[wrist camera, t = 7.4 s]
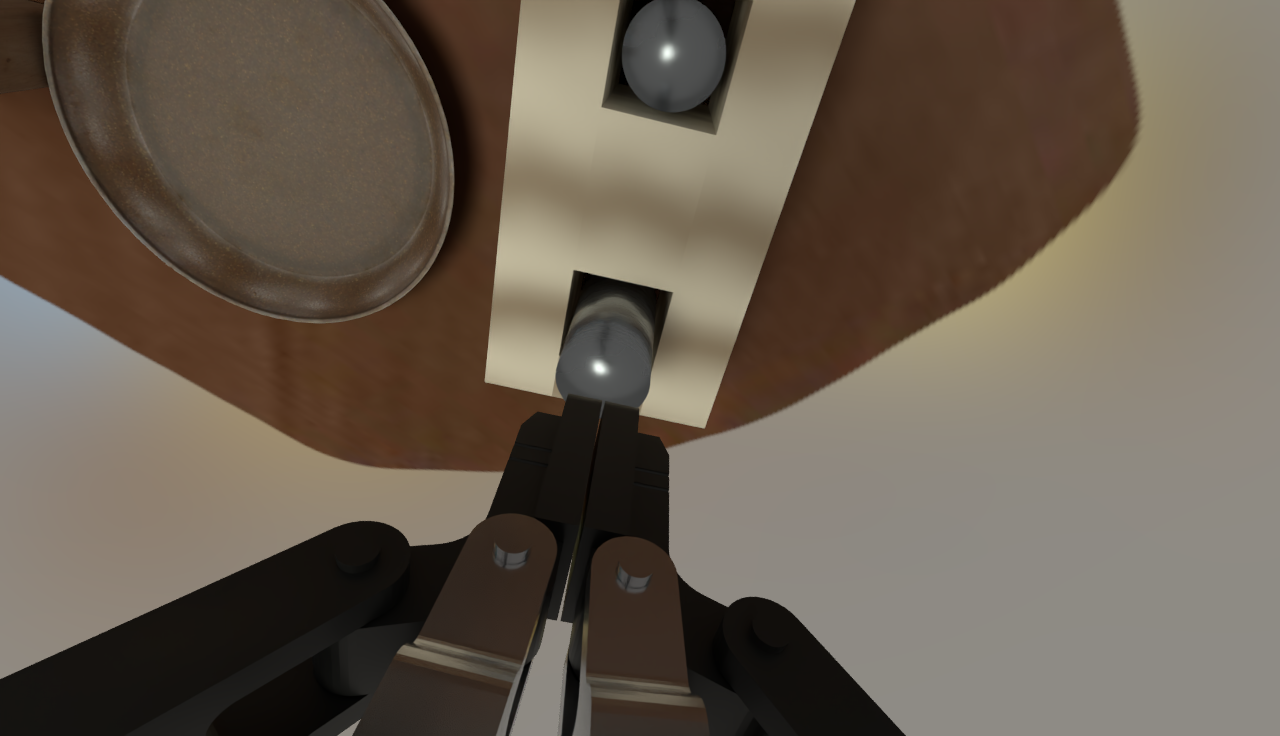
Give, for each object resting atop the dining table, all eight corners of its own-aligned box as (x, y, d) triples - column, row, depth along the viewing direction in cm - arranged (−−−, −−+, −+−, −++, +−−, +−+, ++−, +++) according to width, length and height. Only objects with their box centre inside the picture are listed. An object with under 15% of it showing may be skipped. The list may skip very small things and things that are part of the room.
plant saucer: (19, 76, 32) (-43, 84, 30) (247, -219, 26) (194, -246, 23) (315, 352, 41) (288, 378, 38) (546, 186, 34) (534, 203, 31)
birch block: (572, -114, 27) (535, -153, 20) (827, -45, 27) (876, -60, 21) (519, 313, 38) (484, 381, 31) (699, 353, 39) (704, 428, 32)
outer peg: (588, 258, 30) (562, 329, 24) (664, 275, 31) (660, 350, 24) (575, 325, 32) (549, 408, 26) (647, 341, 33) (639, 426, 26)
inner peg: (644, -14, 28) (633, -18, 22) (725, 7, 28) (739, 10, 22) (627, 77, 30) (612, 99, 24) (703, 96, 31) (709, 123, 24)
